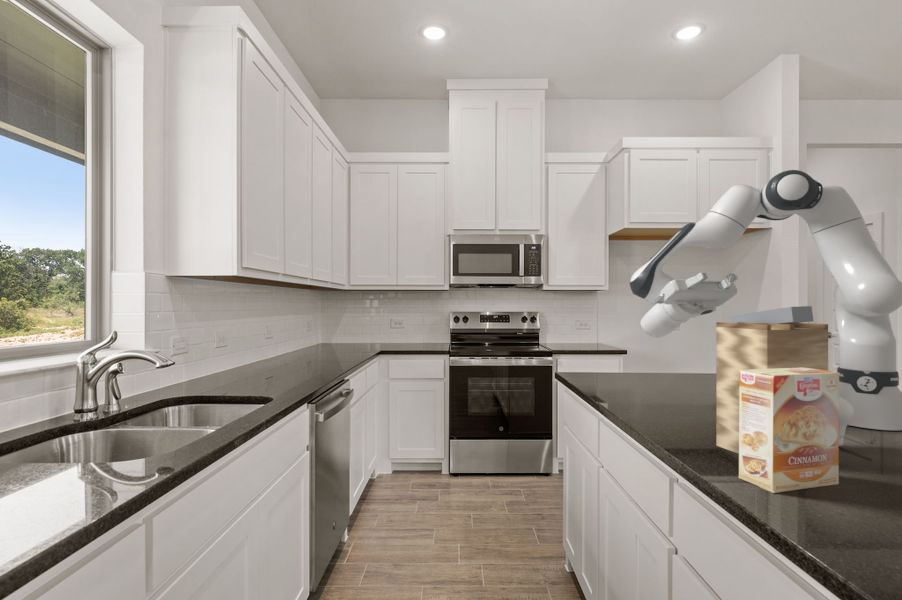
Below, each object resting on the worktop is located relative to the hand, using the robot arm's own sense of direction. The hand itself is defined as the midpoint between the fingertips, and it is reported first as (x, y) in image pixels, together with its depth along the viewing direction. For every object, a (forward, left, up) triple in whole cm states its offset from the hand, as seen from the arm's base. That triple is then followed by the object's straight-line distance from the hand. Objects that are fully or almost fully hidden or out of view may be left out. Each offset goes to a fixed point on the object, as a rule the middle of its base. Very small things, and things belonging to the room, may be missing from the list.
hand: (719, 275), depth 116 cm
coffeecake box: (+32, +17, -39) cm, 53 cm away
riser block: (+14, +12, -38) cm, 42 cm away
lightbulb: (+1, +22, -39) cm, 45 cm away
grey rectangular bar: (+10, +12, -12) cm, 20 cm away
